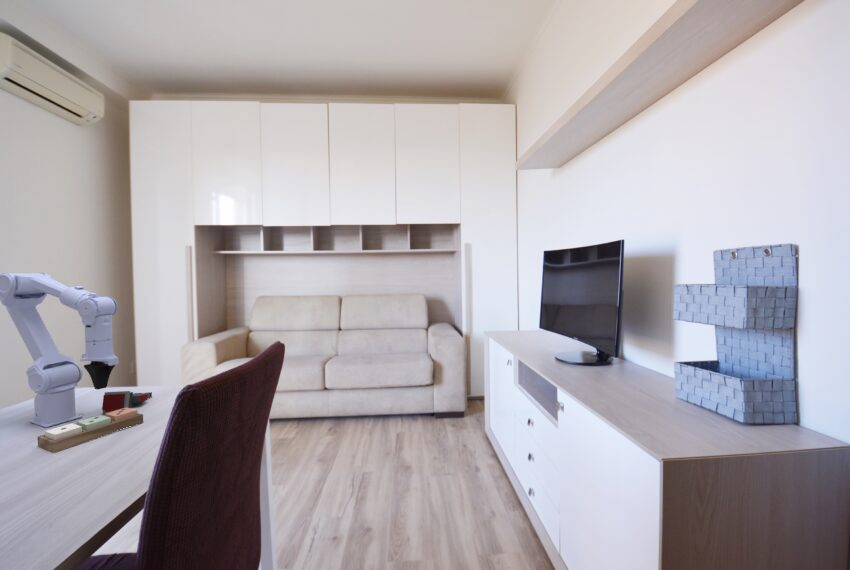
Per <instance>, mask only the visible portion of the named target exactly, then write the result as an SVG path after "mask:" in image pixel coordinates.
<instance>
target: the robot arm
mask: <svg viewBox="0 0 850 570" xmlns="http://www.w3.org/2000/svg"><path fill="white" fill-rule="evenodd" d="M48 295H50V296H53V297H56V298H58V299H59V302H60V304H62V305H64V306H66V307H68V308H71V309H73V310H75V311H77V312H78V315H79V317H81V323H82V325H84V340H85V341H84V342H85V343H84V344H85V345H84V346H85V347H84V348H85V353H82V354H81V358H79V359H80V360H79V361H81V362H90V363H88V364H84V365H83V368H84V369H85V370H86V371H87V373H88V374H89V375H88V376H89V377H90V379H91V381H92V385H93V387H94V389H95V390H102V389H106V388H107V387H108V384H109V379H110V376H111V374H112V372H113V370H114V368H115V367H116V366H117V365H119V363H120V362H119V357H118V356H116V355H115V354H114V336H113V333H114V332H113V331H114V330H113V316H115V314H116V313H117V311H118V306H119V305H118V303H117V301H116V299H115V298H113V297H112V296H111V295H105V296H100V295H98V293H96V292H90V291H89V290H86V289H85V287H84V286H81V285H75V286H70V287H69V286H67V285H66V284H63V283H62V282H59V281H58V280H55V279H54V278H53V275H51V274H47V273H46V272H38V273H37V272H35V273H34V272H33V273H32V272H26V273H25V272H22V273H21V272H19V273H18V272H16V273H15V272H13V273H11V272H1V273H0V302H1V305H2V306H5V307H6V310H7V313H8V314H9V316H10V318H11V320H12V322H13V324H14V326H15V328H16V329H17V331H18V333H19V335H20V337H21V339H22V341H23V343H24V346H26V349H27V350H28V352H29V354H30V356H31V359H32V360H33V363H32V364H31V365H30V366H29V367H28V368H27V370H26V371H25V373H26V376H27V381H28V386H29V388H30V389H31V391H33V392H34V393H35V394H36V395H35V397H34V399H33V403H34V406H33V407H34V419H31V420H29V422H30V423H33V424H34V425H38V426H41V427H43V428H49V427H52V426H56V425H60V424H63V423H66V422H69V421H74V420H76V419H81V418H83V414H79V413H76V387H77V386H78V383H79V382H80V381H82V378H83V369H82V367H81V366H80V364H78V363H77V362H76V361H75V360H74V358H73V357H72V356H69V355H65V354H62V353H60V351H59V349H58V347H57V346H56V344H55V342H54V339H53V338H52V336H51V334H50V332H49V330H48V329H47V327H46V325H45V322H44V320H43V319H42V317H41V315H40V313H39V311H38V310H37V306H38V305H40V304H42V303H43V302H44V301H45V298H46V297H47V296H48Z"/></svg>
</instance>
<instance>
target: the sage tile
mask: <svg viewBox="0 0 850 570" xmlns="http://www.w3.org/2000/svg"><path fill="white" fill-rule="evenodd" d="M109 423H111V418H110V417H106V416H105V415H104V414H99V415H95V416H93V417H89V418H86V419H82V420H79V421H76V425H79V426H82V430H86V431H87V430H90V429H93V428H97V427H100V426H103V425H106V424H109Z"/></svg>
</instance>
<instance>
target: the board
mask: <svg viewBox="0 0 850 570" xmlns="http://www.w3.org/2000/svg"><path fill="white" fill-rule="evenodd" d="M142 422H143V423H144V414H143V413H141V412H137V415H135V416H131V417H128V418H125V419H122V420H119V421H116V422H114V421H111V423H109V424H106V425H103V426H100V427H97V428H93V429H90V430H87V431H86V430H82V432H81V433H77V434H74V435H71V436H68V437H65V438H62V439H58V440H55V441H53V440H50V439H48V438H45V434H42V435H38V436H37V447H38V448H41V449H44V450H46V451H49V452H50V453H53V454H54V453H55V454H56V453H58V452H60V451H63V450H66V449H69V448H73V447H75V446H79V445H82V444H84V443H85V444H86V443H87V442H90V440H91V441H93V439H94V440H97V439H99V438H102V437H105V436H108V435H110V433H111V434H113V433H112V432H114V433H116V432H115V431H117V430H120V429H123V428H126V427H129V426H132V427H134V426H133V425H135V426H137V425H136V424H138V425H140V424H139V423H141V424H143V423H142ZM129 428H130V427H129ZM126 429H127V428H126ZM123 430H124V429H123ZM120 431H121V430H120ZM117 432H118V431H117ZM107 434H108V435H107ZM104 435H105V436H104ZM101 436H102V437H101ZM98 437H99V438H98ZM96 438H97V439H96Z"/></svg>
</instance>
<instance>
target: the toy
mask: <svg viewBox="0 0 850 570" xmlns="http://www.w3.org/2000/svg"><path fill="white" fill-rule="evenodd" d="M152 393H153V392H152V391H149V392H143V393H142V392H135V393H134V391H131V390H126V391H125V390H124V391H121V390H120V391H119V390H118V391H105V392H104V394H103V397H102V398H103V399H102V406H101V411H102V413H109V412H112V411H116V410H119V409H123V408H126V407H127V408H132V406H133V403H141V402H144V401H145V402H146V401H148V400H149V399H151V398H152V397H153V394H152ZM150 397H151V398H150ZM148 398H149V399H148Z"/></svg>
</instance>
